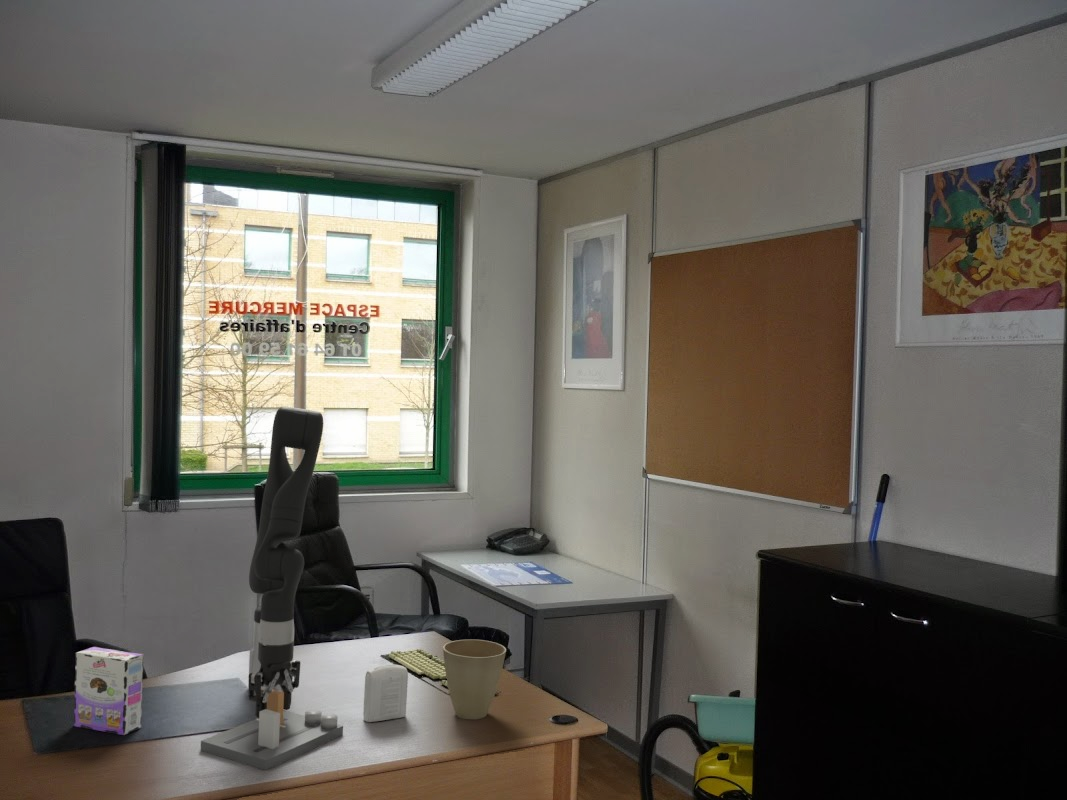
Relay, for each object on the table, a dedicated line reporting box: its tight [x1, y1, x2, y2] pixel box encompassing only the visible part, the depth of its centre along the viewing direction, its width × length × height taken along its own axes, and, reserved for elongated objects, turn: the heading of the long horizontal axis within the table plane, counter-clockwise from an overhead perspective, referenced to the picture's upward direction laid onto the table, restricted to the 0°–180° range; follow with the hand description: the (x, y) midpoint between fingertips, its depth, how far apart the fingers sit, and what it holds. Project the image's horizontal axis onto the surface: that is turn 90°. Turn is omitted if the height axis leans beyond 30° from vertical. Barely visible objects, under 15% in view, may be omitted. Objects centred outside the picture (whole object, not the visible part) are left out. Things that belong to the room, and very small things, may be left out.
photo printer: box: [362, 663, 409, 723], centre depth 237 cm, size 10×4×12 cm, turn 123°
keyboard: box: [380, 648, 502, 696], centre depth 272 cm, size 45×15×2 cm, turn 35°
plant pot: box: [442, 639, 507, 720], centre depth 242 cm, size 15×15×16 cm
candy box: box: [73, 646, 144, 736], centre depth 223 cm, size 14×6×16 cm, turn 71°
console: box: [200, 709, 344, 771], centre depth 219 cm, size 18×24×9 cm
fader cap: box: [266, 690, 284, 725], centre depth 224 cm, size 4×2×7 cm, turn 62°
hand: (273, 713), depth 224 cm, fingers open, 7 cm apart
